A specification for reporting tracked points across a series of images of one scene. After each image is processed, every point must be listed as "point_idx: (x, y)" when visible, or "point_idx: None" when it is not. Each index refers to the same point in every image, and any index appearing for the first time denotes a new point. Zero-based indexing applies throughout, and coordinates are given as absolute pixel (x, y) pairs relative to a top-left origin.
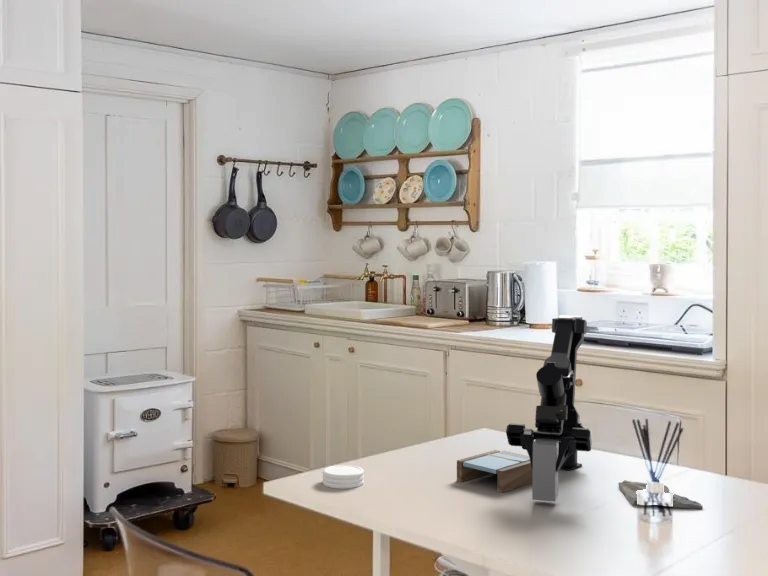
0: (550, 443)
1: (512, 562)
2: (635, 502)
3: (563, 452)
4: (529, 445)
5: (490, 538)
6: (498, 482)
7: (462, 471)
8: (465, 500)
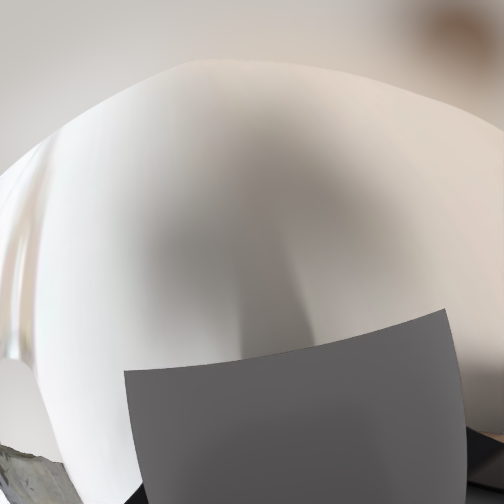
0: (226, 468)
1: (225, 59)
2: (50, 462)
3: (142, 492)
4: (479, 454)
5: (298, 97)
6: (477, 431)
7: None
8: (489, 290)
